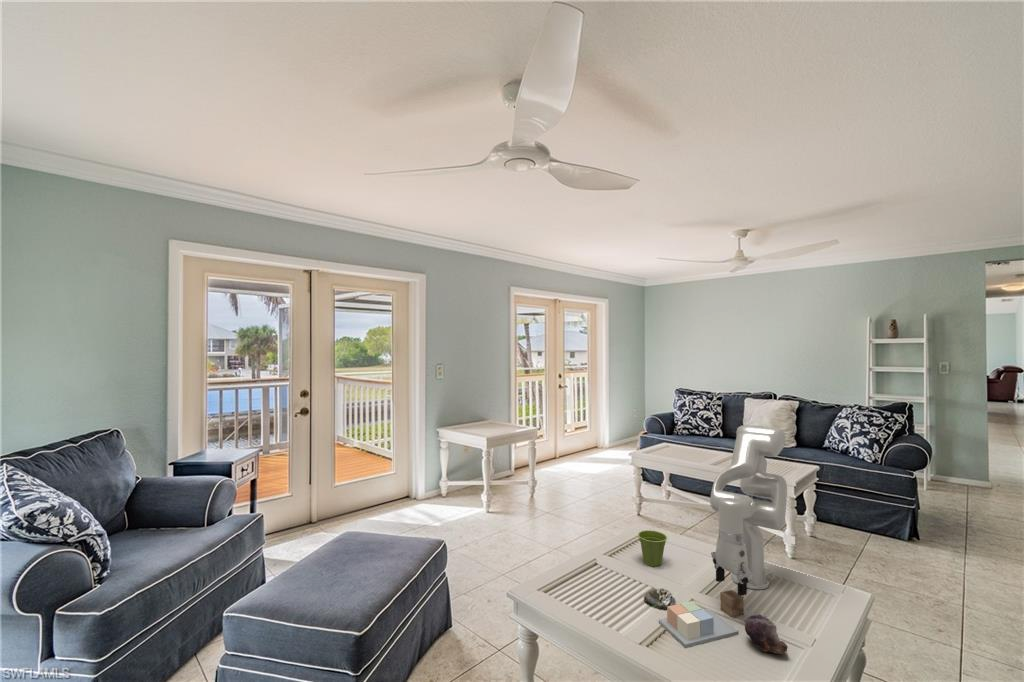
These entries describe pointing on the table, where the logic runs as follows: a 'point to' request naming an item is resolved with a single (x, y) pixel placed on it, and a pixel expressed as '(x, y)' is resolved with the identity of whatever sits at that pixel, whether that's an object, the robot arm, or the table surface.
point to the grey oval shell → (659, 599)
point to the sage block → (691, 606)
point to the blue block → (704, 622)
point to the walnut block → (732, 603)
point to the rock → (764, 634)
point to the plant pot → (652, 546)
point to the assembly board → (720, 631)
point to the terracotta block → (675, 614)
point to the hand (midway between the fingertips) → (730, 587)
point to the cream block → (688, 625)
